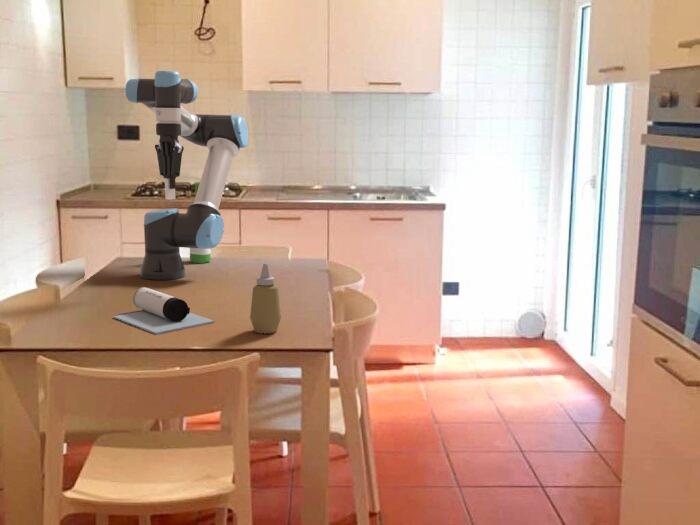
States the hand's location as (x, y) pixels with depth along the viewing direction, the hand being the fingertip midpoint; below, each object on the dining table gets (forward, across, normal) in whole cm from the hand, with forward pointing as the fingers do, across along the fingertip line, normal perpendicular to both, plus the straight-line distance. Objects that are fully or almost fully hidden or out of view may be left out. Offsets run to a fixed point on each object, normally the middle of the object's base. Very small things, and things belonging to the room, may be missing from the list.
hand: (170, 199), depth 248 cm
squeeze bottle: (+29, +57, -8) cm, 65 cm away
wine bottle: (+30, -36, +35) cm, 58 cm away
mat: (+29, +30, -22) cm, 47 cm away
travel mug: (+26, +16, -20) cm, 36 cm away
